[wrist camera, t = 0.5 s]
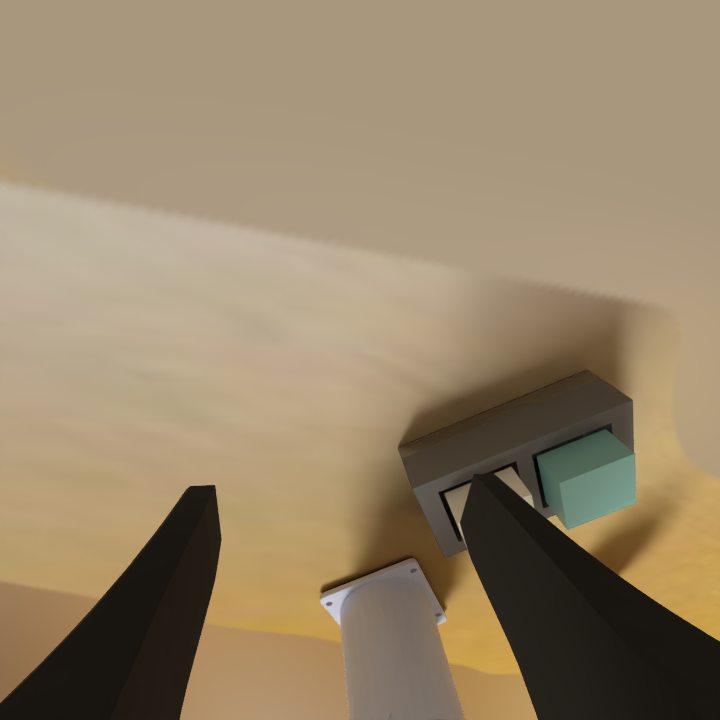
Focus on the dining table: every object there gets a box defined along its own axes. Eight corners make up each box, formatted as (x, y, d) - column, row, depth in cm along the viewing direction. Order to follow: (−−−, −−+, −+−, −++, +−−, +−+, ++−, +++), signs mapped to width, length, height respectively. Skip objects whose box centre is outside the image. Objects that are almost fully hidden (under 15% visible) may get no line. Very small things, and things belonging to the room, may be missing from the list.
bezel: (605, 457, 25) (634, 483, 22) (432, 525, 25) (444, 558, 23) (599, 377, 21) (632, 399, 19) (401, 458, 22) (412, 488, 20)
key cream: (522, 510, 22) (541, 540, 20) (461, 534, 22) (474, 565, 21) (511, 466, 20) (531, 494, 19) (444, 493, 21) (457, 523, 19)
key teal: (608, 476, 22) (635, 503, 20) (545, 501, 22) (567, 530, 20) (605, 429, 20) (635, 453, 18) (536, 456, 20) (559, 483, 18)
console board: (595, 447, 25) (605, 457, 25) (427, 514, 26) (432, 525, 25) (588, 369, 22) (599, 377, 21) (397, 447, 23) (401, 458, 22)
